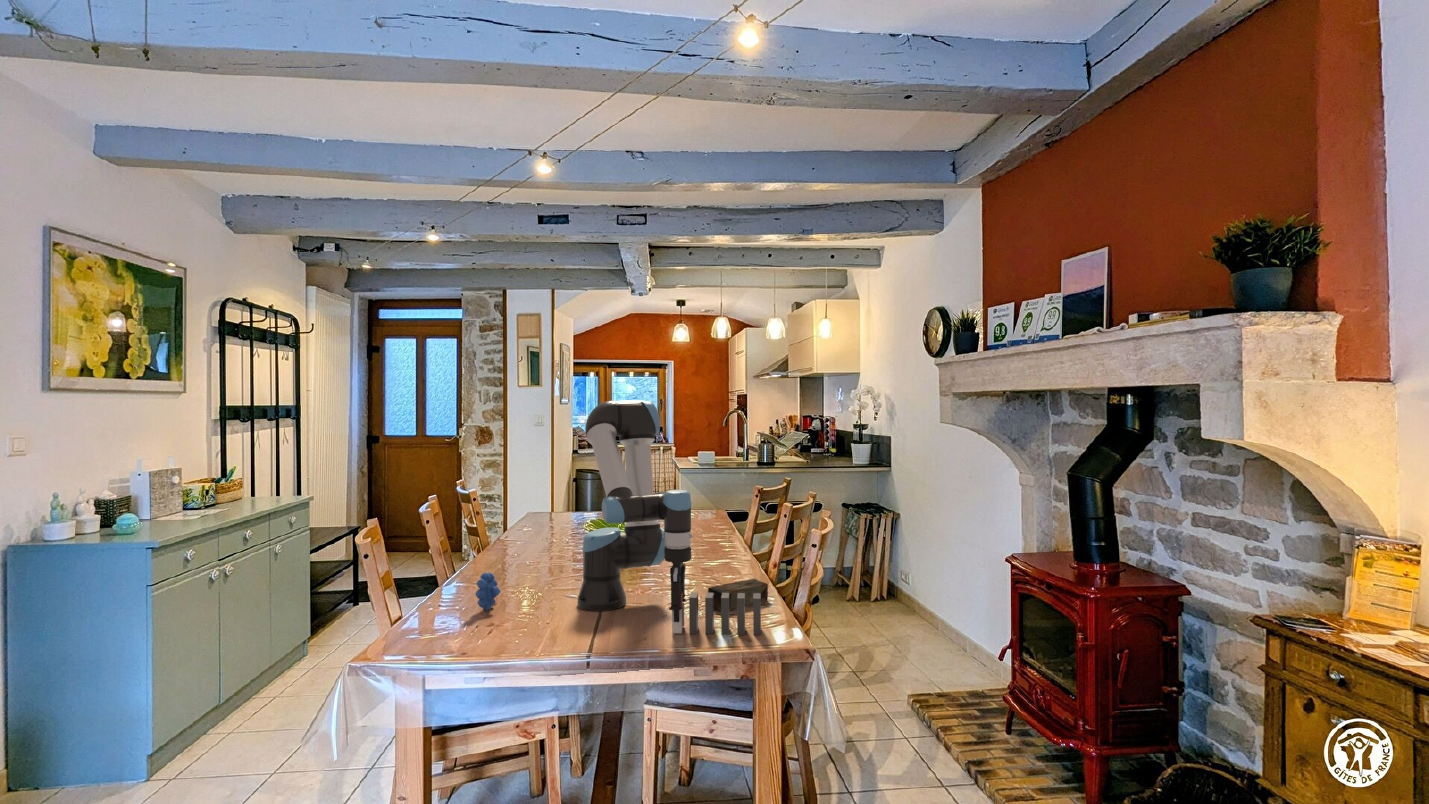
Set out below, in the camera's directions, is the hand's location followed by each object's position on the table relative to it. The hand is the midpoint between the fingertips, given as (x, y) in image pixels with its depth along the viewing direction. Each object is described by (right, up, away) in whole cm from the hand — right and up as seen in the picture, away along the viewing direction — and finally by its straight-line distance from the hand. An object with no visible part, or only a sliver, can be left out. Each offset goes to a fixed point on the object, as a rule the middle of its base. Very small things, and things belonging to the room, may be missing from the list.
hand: (678, 629), depth 192 cm
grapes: (-59, -1, +19) cm, 62 cm away
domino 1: (+4, 0, 0) cm, 4 cm away
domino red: (0, 0, 0) cm, 0 cm away
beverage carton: (+18, -1, +24) cm, 30 cm away
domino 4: (+18, 0, -1) cm, 18 cm away
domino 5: (+22, 0, -1) cm, 22 cm away
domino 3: (+13, 0, -1) cm, 13 cm away
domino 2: (+9, 0, -1) cm, 9 cm away
